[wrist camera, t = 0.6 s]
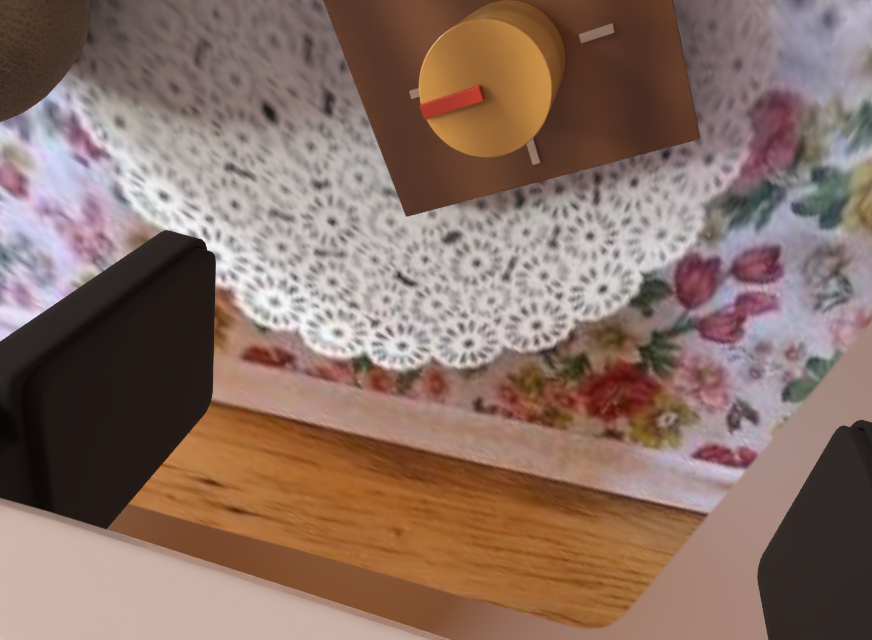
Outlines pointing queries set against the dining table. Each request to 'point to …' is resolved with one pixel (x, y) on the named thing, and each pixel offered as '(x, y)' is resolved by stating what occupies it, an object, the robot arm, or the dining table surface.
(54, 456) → the robot arm
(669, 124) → the knob panel
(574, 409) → the dining table surface
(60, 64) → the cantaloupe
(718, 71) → the dining table surface
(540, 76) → the dial knob
